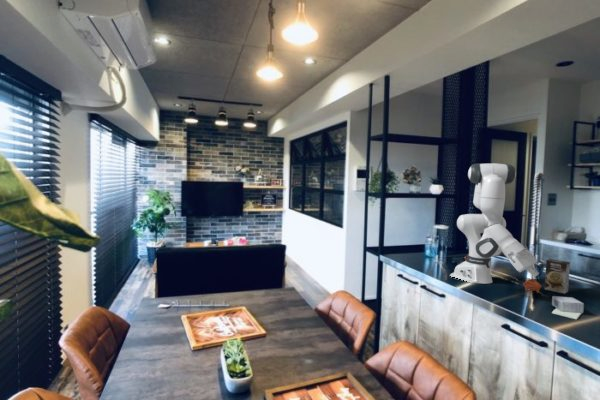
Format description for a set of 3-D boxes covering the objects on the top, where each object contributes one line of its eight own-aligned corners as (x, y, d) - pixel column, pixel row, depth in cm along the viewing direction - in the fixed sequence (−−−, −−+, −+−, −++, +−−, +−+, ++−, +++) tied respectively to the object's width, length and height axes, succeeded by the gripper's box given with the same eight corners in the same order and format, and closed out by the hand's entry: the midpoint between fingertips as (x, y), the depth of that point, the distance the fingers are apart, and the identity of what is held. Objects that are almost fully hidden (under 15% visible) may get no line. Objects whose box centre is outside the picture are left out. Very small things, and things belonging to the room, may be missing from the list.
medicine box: (561, 311, 146) (583, 313, 145) (561, 301, 146) (584, 303, 144) (551, 305, 154) (572, 306, 152) (552, 295, 154) (573, 297, 152)
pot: (545, 291, 174) (544, 280, 173) (535, 297, 171) (535, 285, 170) (529, 286, 181) (528, 275, 180) (520, 291, 178) (519, 280, 177)
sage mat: (551, 313, 146) (551, 311, 146) (558, 307, 153) (558, 306, 153) (576, 319, 140) (576, 318, 140) (582, 313, 147) (582, 311, 147)
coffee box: (543, 289, 179) (545, 259, 178) (548, 287, 183) (549, 258, 182) (564, 294, 172) (566, 263, 171) (568, 291, 176) (570, 261, 175)
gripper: (512, 250, 153) (536, 276, 146) (526, 244, 166) (548, 268, 160) (501, 258, 157) (524, 283, 150) (515, 251, 170) (537, 274, 163)
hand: (537, 275), depth 155 cm, fingers closed
